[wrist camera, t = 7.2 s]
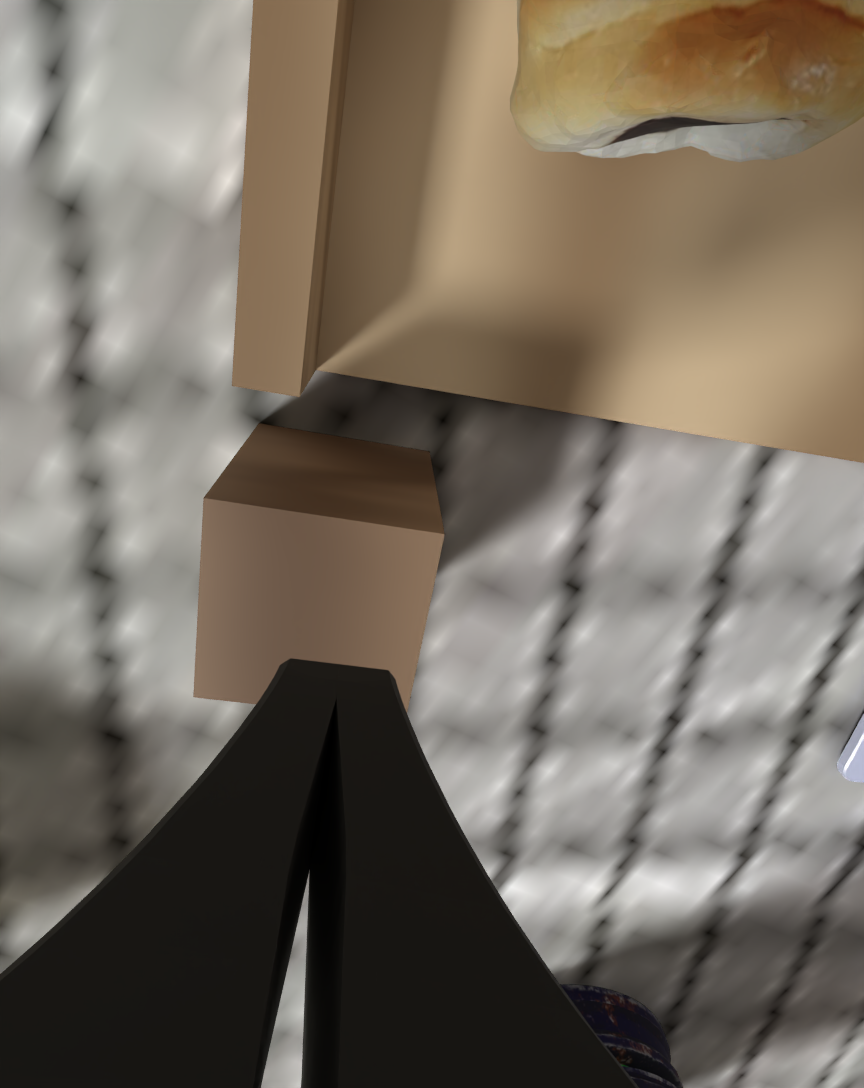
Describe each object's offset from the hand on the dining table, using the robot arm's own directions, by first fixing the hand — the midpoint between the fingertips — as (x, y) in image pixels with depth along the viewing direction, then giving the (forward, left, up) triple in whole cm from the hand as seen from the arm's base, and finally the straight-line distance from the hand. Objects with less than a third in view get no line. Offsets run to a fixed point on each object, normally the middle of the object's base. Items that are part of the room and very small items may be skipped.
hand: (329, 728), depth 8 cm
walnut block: (0, +1, -9) cm, 9 cm away
